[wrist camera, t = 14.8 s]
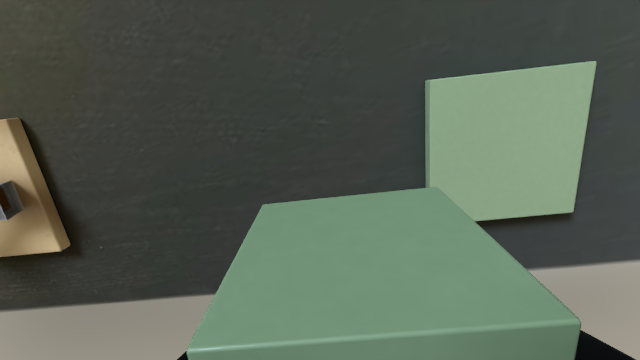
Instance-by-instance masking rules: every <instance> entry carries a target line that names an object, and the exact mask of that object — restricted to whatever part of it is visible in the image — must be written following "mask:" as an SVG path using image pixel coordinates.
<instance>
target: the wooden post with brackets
mask: <svg viewBox="0 0 640 360" xmlns="http://www.w3.org/2000/svg"><path fill="white" fill-rule="evenodd" d="M22 210H24V208H23V206H22V203H21V201H20V199H19V196H18V194H17V191H16V189H15V187H14V184H13V182H12V180H10V181H8V182H2V183H0V220H9V219H10V218H12V217H13V216H15V215H16V214H18V213H19V212H21V211H22Z"/></svg>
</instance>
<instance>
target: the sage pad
mask: <svg viewBox="0 0 640 360" xmlns="http://www.w3.org/2000/svg"><path fill="white" fill-rule="evenodd" d="M595 69H596V62H595V61H591V62H581V63H572V64H563V65H555V66H546V67H537V68H528V69H520V70H511V71H502V72H494V73H485V74H476V75H468V76H459V77H450V78H441V79H433V80H426V81H425V159H426V188H430V187H438V188H439V189H440V190H441V191H442V192H443V193H445V194H446V195H447V196H448V197H449V198H450V199H451V200H452V201H453V202H454V203H455V204H456V205H457V206H459V207H460V208H461V209H462V210H463V211H464V212H465V213H466V214H467V215H468V216H469V217H470V218H471V219H473V220H474V221H483V220H494V219H506V218H517V217H528V216H539V215H550V214H561V213H572V212H573V211H574V205H575V198H576V192H577V185H578V179H579V172H580V166H581V159H582V153H583V147H584V140H585V134H586V127H587V121H588V114H589V108H590V101H591V95H592V88H593V82H594V75H595Z"/></svg>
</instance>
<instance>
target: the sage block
mask: <svg viewBox="0 0 640 360" xmlns="http://www.w3.org/2000/svg"><path fill="white" fill-rule="evenodd" d="M580 328H581V321H580V320H579V318H578V317H577V316H575V314H574V313H572V312H571V311H570V310H569V309H568V308H567V307H566V306H565V305H564V304H563V303H562V302H561V301H559V300H558V299H557V298H556V297H555V296H554V295H553V294H552V293H551V292H550V291H549V290H548V289H547V288H546V287H545V286H543V285H542V284H541V283H540V282H539V281H538V280H537V279H536V278H535V277H534V276H533V275H531V273H530V272H528V271H527V270H526V269H525V268H524V267H523V266H522V265H521V264H520V263H519V262H518V261H517V260H516V259H514V258H513V257H512V256H511V255H510V254H509V253H508V252H507V251H506V250H505V249H504V248H503V247H502V246H500V245H499V244H498V243H497V242H496V241H495V240H494V239H493V238H492V237H491V236H490V235H489V234H488V233H486V232H485V231H484V230H483V229H482V228H481V227H480V226H479V225H478V224H477V223H476V222H475V221H474V220H473V219H471V218H470V217H469V216H468V215H467V214H466V213H465V212H464V211H463V210H462V209H461V208H460V207H459V206H457V205H456V204H455V203H454V202H453V201H452V200H451V199H450V198H449V197H448V196H447V195H446V194H445V193H443V192H442V191H441V190H440V189H439V188H438V187H430V188H421V189H411V190H401V191H391V192H381V193H372V194H362V195H352V196H342V197H332V198H322V199H313V200H303V201H293V202H283V203H273V204H264V205H262V207H261V209H260V211H259V213H258V215H257V217H256V218H255V220H254V222H253V224H252V226H251V228H250V230H249V232H248V234H247V236H246V237H245V239H244V241H243V243H242V245H241V247H240V249H239V251H238V253H237V255H236V256H235V258H234V260H233V262H232V264H231V266H230V268H229V270H228V272H227V274H226V275H225V277H224V279H223V281H222V283H221V285H220V287H219V289H218V291H217V293H216V294H215V297H214V298H213V300H212V302H211V304H210V306H209V308H208V310H207V312H206V313H205V315H204V317H203V319H202V321H201V323H200V325H199V327H198V329H197V331H196V333H195V334H194V336H193V338H192V340H191V342H190V344H189V346H188V348H187V357H188V360H575V355H576V350H577V344H578V339H579V334H580Z"/></svg>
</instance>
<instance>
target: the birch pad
mask: <svg viewBox="0 0 640 360" xmlns="http://www.w3.org/2000/svg"><path fill="white" fill-rule="evenodd" d="M10 180H12V182H13V184H14V187H15V189H16V191H17V194H18V196H19V199H20V201H21V203H22V206H23V208H24V210H22V211H21V212H19V213H18V214H16V215H15V216H13V217H12V218H10V219H9V220H0V257H5V256H16V255H27V254H38V253H48V252H59V251H62V250H64V249H66V248H67V247H69V246H70V245H71V244H70V242H69V239H68V237H67V234H66V232H65V229H64V227H63V224H62V222H61V219H60V217H59V214H58V212H57V209H56V207H55V204H54V202H53V200H52V197H51V195H50V192H49V190H48V187H47V185H46V182H45V180H44V177H43V175H42V172H41V170H40V167H39V165H38V162H37V160H36V158H35V155H34V153H33V150H32V148H31V145H30V143H29V140H28V138H27V135H26V133H25V130H24V128H23V125H22V123H21V120H20V119H19V118H10V119H1V120H0V183H2V182H8V181H10Z"/></svg>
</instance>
